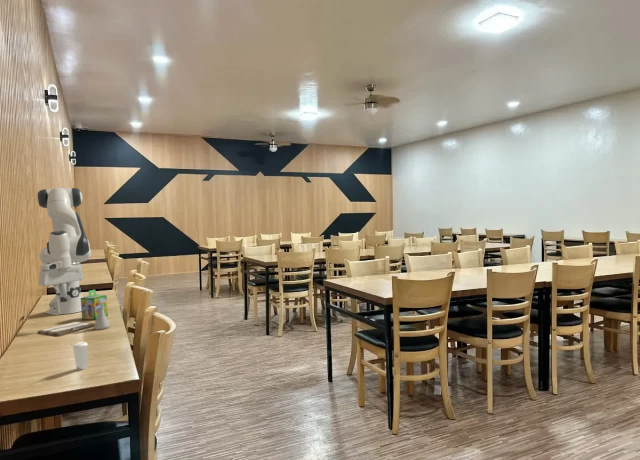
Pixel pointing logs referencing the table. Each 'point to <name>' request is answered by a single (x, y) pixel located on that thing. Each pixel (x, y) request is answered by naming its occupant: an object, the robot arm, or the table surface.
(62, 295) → the marker
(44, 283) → the robot arm
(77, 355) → the milkshake
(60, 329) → the clipboard
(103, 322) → the flask
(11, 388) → the table surface
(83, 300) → the chalk box
